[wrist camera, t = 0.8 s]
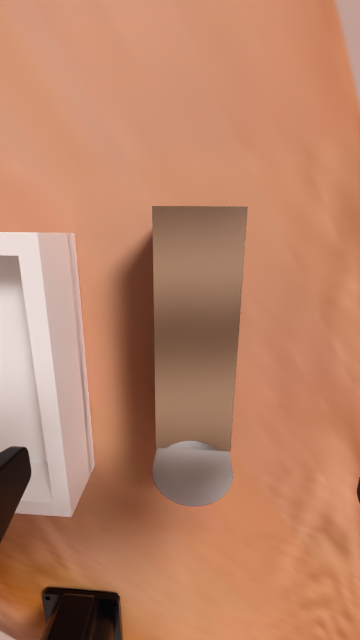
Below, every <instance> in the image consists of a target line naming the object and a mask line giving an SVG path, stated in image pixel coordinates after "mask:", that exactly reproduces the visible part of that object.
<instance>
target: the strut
mask: <svg viewBox="0 0 360 640" xmlns="http://www.w3.org/2000/svg"><path fill="white" fill-rule="evenodd" d="M152 221H153V288H154V355H155V423H156V448H157V449H156V454H155V459H154V464H153V469H152V475H153V480H154V483H155V485H156V487H157V488H158V490H159V491H160V492H161V493H162V494H163V495H164V496H165V497H166V498H168V499H169V500H171V501H173V502H175V503H178V504H181V505H185V506H204V505H208V504H211V503H213V502H215V501H217V500H219V499H220V498H221V497H223V496H224V495H225V494H226V493H227V491H228V490H229V488H230V486H231V483H232V478H233V472H232V465H231V458H230V450H231V436H232V422H233V407H234V393H235V379H236V364H237V350H238V336H239V322H240V307H241V293H242V279H243V265H244V250H245V236H246V222H247V207H201V206H152Z"/></svg>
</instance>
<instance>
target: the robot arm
mask: <svg viewBox="0 0 360 640" xmlns="http://www.w3.org/2000/svg"><path fill="white" fill-rule="evenodd" d="M30 478H31V464H30V458H29V452H28V449H27V448H26V447H22V446H11V447H9V448H7V449H5V450H3V451H2V452H0V543H1V541H2V539H3V537H4V535H5V533H6V531H7V528H8V526H9V524H10V522H11V520H12V518H13V516H14V513H15V511H16V509H17V507H18V505H19V503H20V500H21V498H22V496H23V494H24V492H25V490H26V487H27V485H28V483H29V481H30ZM357 496H358V500H359V502H360V478H359V483H358V487H357ZM42 601H43V606H44V612H45V618H46V627H45V629H44V632H43V635H42V637H41V640H123V636H122V621H121V606H120V597H119V596H118V595H117V594H111V593H99V592H87V591H75V590H62V589H50V588H49V589H45V591H44V593H43V595H42Z"/></svg>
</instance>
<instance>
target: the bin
mask: <svg viewBox="0 0 360 640" xmlns="http://www.w3.org/2000/svg"><path fill="white" fill-rule="evenodd" d="M11 446H22V447H26V448H27V449H28V452H29V458H30V464H31V478H30V481H29V483H28V485H27V487H26V490H25V492H24V494H23V496H22V498H21V500H20V503H19V505H18V507H17V509H16V511H15V513H18V514H33V515H48V516H63V517H72V515H73V513H74V511H75V508H76V506H77V504H78V502H79V500H80V497H81V495H82V493H83V491H84V488H85V486H86V484H87V482H88V480H89V477H90V475H91V473H92V471H93V469H94V466H95V461H94V450H93V438H92V427H91V415H90V403H89V392H88V380H87V369H86V357H85V346H84V334H83V322H82V311H81V299H80V288H79V276H78V265H77V253H76V241H75V233H33V232H0V452H2V451H3V450H5V449H7V448H9V447H11Z"/></svg>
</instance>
